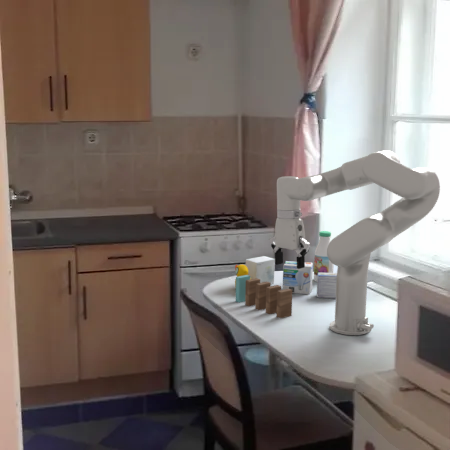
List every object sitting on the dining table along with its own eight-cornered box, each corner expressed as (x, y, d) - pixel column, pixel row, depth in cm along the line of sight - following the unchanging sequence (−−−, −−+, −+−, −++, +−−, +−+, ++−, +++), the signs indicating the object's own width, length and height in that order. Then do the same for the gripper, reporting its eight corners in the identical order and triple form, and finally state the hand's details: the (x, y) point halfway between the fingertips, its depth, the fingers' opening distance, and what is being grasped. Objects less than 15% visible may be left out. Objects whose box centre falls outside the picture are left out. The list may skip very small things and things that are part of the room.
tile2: (280, 311, 237) (281, 286, 236) (269, 314, 234) (270, 288, 233) (276, 310, 239) (277, 284, 237) (265, 312, 236) (266, 287, 234)
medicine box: (338, 295, 258) (339, 272, 256) (338, 298, 254) (339, 275, 252) (316, 294, 259) (317, 272, 257) (317, 298, 254) (317, 275, 253)
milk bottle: (322, 277, 284) (324, 229, 280) (336, 281, 278) (339, 232, 274) (309, 280, 279) (311, 231, 275) (323, 284, 273) (325, 234, 269)
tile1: (291, 315, 233) (292, 289, 232) (280, 318, 230) (281, 292, 229) (287, 314, 235) (288, 288, 233) (276, 316, 232) (277, 290, 230)
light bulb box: (281, 292, 261) (282, 264, 259) (284, 287, 268) (285, 260, 266) (310, 294, 259) (311, 266, 257) (312, 289, 265) (313, 262, 263)
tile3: (269, 307, 242) (270, 282, 240) (259, 310, 239) (259, 284, 237) (266, 306, 243) (266, 281, 242) (255, 308, 240) (255, 283, 239)
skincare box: (255, 288, 265) (256, 262, 263) (244, 285, 270) (244, 259, 268) (274, 284, 272) (275, 258, 270) (263, 281, 277) (263, 255, 275)
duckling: (229, 287, 266) (229, 262, 264) (241, 286, 269) (242, 261, 267) (242, 295, 256) (243, 269, 254) (255, 293, 258) (256, 267, 257)
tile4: (259, 303, 246) (260, 279, 244) (248, 306, 243) (249, 281, 241) (256, 302, 248) (256, 278, 246) (245, 304, 245) (245, 280, 243)
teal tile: (235, 301, 249) (235, 276, 247) (246, 298, 252) (246, 274, 250) (239, 302, 247) (239, 278, 246) (249, 300, 250) (250, 276, 249)
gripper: (316, 215, 222) (317, 267, 224) (277, 211, 234) (278, 260, 237) (300, 218, 217) (301, 271, 219) (261, 213, 229) (263, 264, 232)
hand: (289, 266), depth 228 cm, fingers open, 9 cm apart
